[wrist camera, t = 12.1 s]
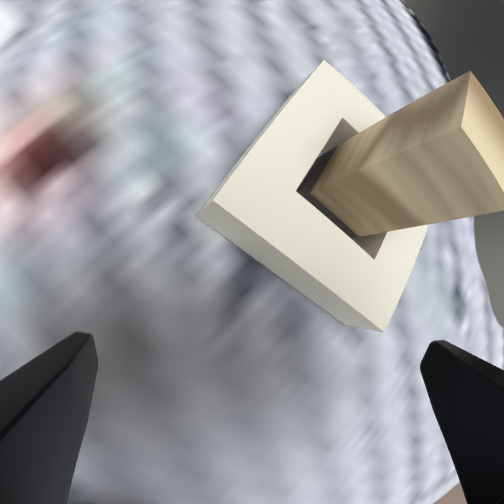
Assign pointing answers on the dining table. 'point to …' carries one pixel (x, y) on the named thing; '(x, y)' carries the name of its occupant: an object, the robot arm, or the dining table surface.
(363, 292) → the square ring frame
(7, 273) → the dining table surface
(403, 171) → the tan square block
